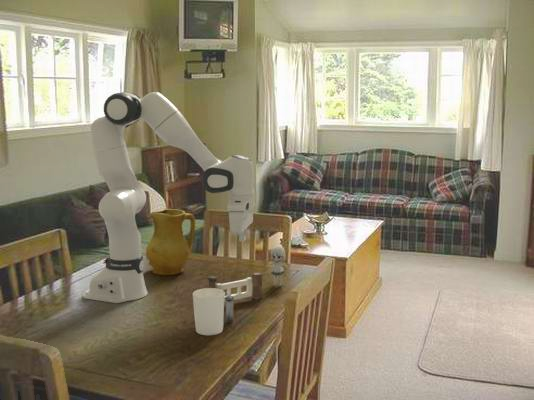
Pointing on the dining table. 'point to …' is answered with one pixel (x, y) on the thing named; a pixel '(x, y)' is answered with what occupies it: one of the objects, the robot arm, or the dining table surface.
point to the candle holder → (209, 310)
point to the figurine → (278, 262)
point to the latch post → (229, 309)
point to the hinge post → (212, 282)
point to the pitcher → (169, 242)
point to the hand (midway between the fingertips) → (242, 240)
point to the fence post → (257, 285)
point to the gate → (237, 284)
